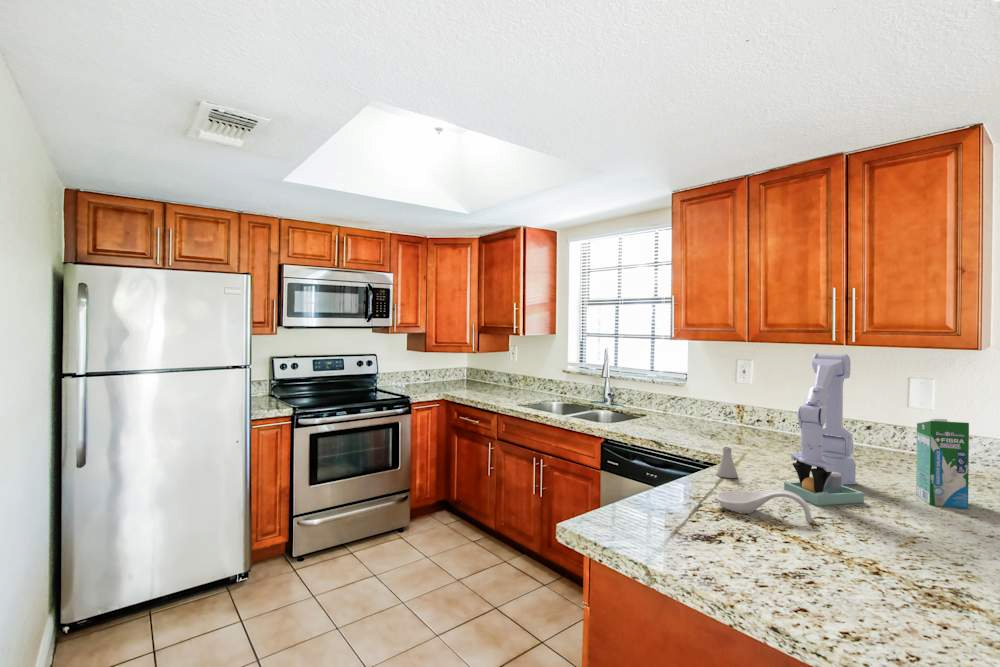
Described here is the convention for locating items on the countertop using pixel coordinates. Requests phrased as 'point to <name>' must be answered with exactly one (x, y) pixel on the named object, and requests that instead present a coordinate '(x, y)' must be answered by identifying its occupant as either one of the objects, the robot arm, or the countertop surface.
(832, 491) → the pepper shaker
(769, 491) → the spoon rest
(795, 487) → the tray
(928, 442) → the milk carton
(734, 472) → the flask
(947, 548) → the countertop surface
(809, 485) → the ball
